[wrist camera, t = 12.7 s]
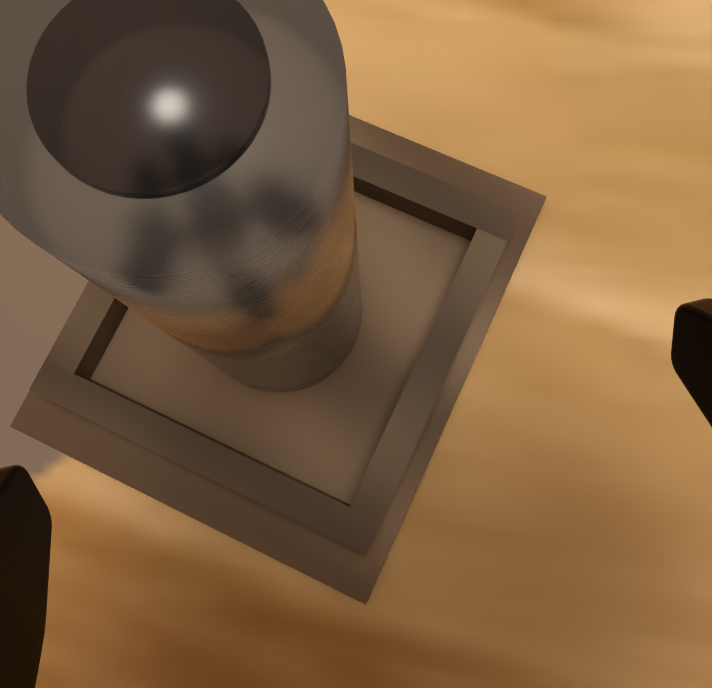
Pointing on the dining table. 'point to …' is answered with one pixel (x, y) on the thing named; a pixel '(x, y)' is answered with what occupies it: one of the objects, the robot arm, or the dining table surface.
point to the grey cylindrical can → (191, 170)
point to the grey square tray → (312, 404)
